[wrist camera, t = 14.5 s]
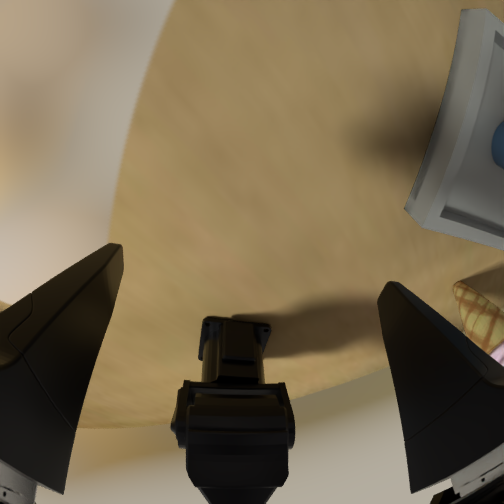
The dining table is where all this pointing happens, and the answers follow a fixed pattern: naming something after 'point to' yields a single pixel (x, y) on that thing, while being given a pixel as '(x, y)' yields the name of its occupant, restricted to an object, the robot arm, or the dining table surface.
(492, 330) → the ice cream cone
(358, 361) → the dining table surface
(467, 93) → the tray
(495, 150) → the cylinder
